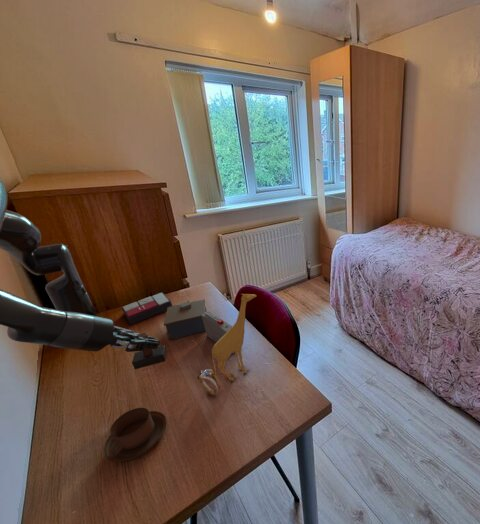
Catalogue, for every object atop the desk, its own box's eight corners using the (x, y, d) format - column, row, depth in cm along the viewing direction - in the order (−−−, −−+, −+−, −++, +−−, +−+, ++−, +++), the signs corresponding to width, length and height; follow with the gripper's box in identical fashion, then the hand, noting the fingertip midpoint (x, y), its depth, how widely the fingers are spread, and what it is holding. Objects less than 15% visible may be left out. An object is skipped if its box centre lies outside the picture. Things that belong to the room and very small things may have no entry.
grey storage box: (167, 341, 100) (161, 324, 97) (170, 322, 110) (165, 307, 107) (209, 330, 105) (204, 314, 102) (208, 314, 115) (204, 299, 112)
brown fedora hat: (156, 459, 63) (148, 441, 61) (95, 472, 61) (83, 453, 58) (175, 412, 74) (168, 395, 71) (123, 421, 72) (114, 404, 69)
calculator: (120, 306, 114) (162, 290, 124) (125, 315, 116) (165, 299, 126) (126, 317, 107) (170, 299, 117) (131, 326, 109) (173, 308, 118)
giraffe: (262, 352, 94) (250, 285, 84) (270, 358, 91) (259, 290, 81) (214, 383, 82) (193, 310, 72) (222, 391, 80) (201, 316, 69)
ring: (199, 392, 80) (192, 370, 76) (209, 384, 82) (202, 363, 79) (215, 402, 76) (208, 380, 73) (225, 393, 79) (219, 372, 76)
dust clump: (182, 309, 105) (181, 307, 105) (180, 306, 107) (180, 303, 107) (191, 306, 107) (190, 304, 106) (189, 303, 109) (188, 301, 108)
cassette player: (239, 349, 95) (233, 324, 91) (231, 354, 93) (225, 329, 89) (214, 332, 104) (208, 309, 100) (207, 336, 102) (200, 312, 98)
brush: (165, 361, 77) (156, 336, 74) (134, 369, 74) (123, 344, 71) (167, 351, 80) (158, 327, 77) (137, 359, 78) (127, 334, 74)
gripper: (104, 325, 60) (176, 338, 75) (78, 306, 67) (149, 322, 82) (82, 359, 58) (161, 366, 73) (58, 337, 65) (134, 347, 80)
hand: (154, 343), depth 77 cm, fingers closed on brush, 2 cm apart
